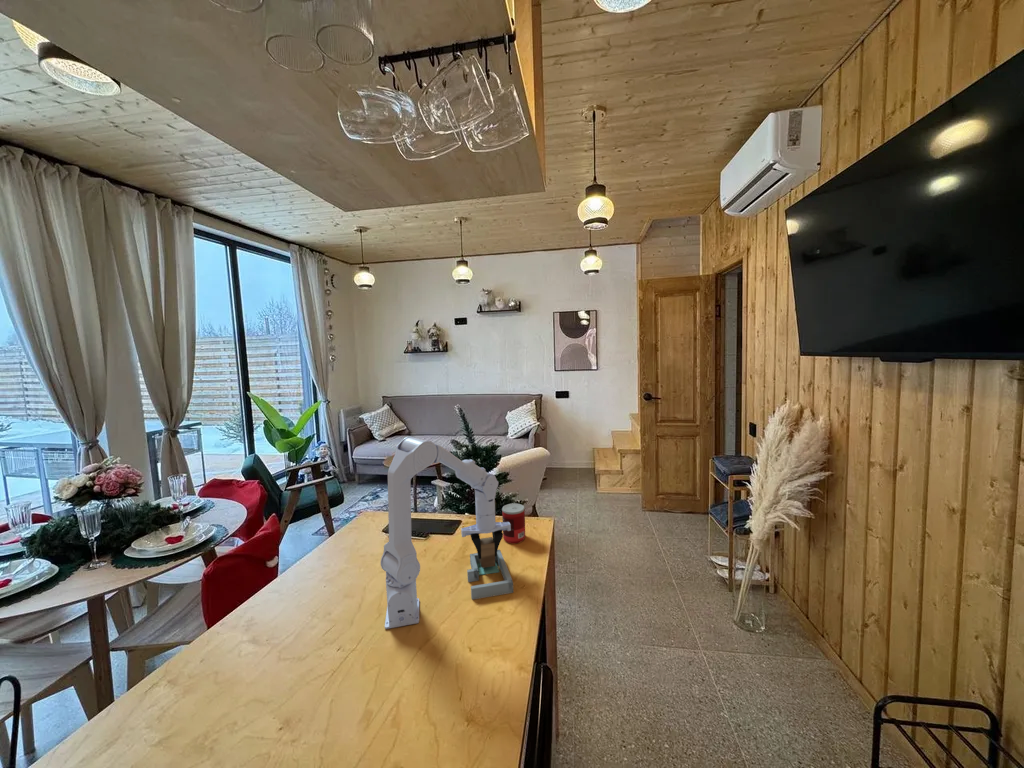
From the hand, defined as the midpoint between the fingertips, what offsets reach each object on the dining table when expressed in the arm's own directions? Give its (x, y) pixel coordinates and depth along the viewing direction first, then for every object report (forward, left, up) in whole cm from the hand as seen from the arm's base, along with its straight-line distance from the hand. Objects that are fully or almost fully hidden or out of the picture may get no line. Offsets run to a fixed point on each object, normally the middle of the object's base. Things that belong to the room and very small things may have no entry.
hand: (487, 555), depth 120 cm
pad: (0, 0, -4) cm, 4 cm away
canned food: (+16, -12, -4) cm, 20 cm away
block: (0, 0, -2) cm, 2 cm away
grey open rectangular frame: (-5, 0, -4) cm, 6 cm away
